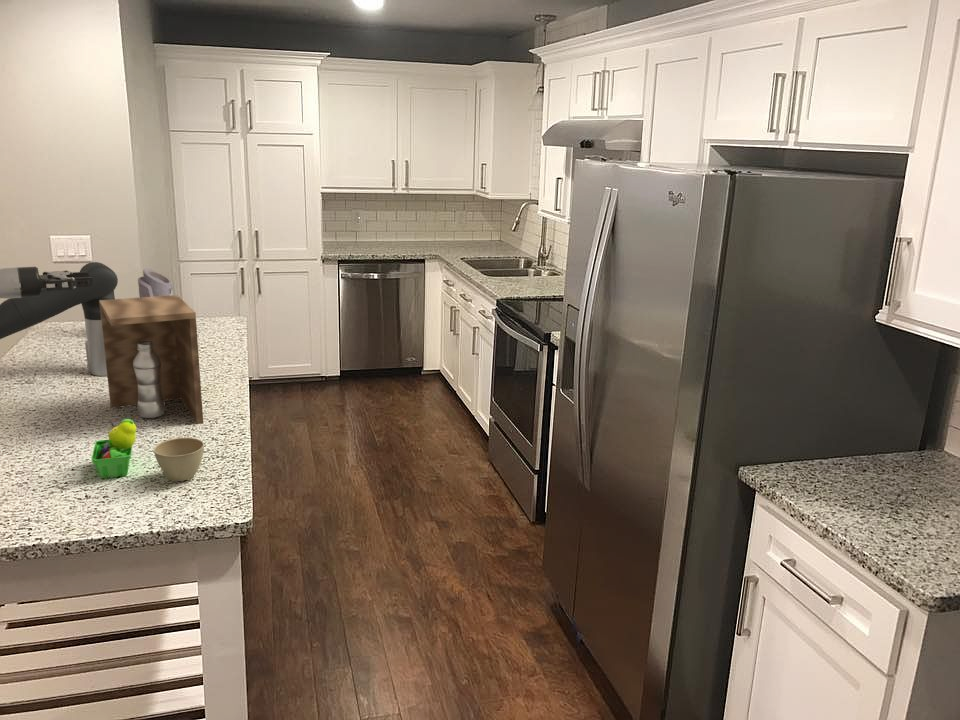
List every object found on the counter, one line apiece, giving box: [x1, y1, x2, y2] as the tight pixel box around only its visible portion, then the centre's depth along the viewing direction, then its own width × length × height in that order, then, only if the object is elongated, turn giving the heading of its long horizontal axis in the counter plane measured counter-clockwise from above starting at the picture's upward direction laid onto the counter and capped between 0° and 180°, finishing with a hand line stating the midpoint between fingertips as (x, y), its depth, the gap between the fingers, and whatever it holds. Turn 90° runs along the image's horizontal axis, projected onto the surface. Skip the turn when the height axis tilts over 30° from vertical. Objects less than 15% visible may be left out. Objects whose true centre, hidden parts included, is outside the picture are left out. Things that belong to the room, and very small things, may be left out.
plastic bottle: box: [133, 341, 166, 419], centre depth 194 cm, size 6×7×20 cm
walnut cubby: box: [99, 294, 204, 425], centre depth 195 cm, size 19×23×29 cm
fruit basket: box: [91, 418, 137, 479], centre depth 165 cm, size 11×9×11 cm
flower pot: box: [153, 437, 205, 482], centre depth 163 cm, size 10×10×7 cm
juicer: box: [137, 268, 175, 298], centre depth 270 cm, size 30×16×24 cm, turn 96°
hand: (90, 278), depth 197 cm, fingers open, 8 cm apart
